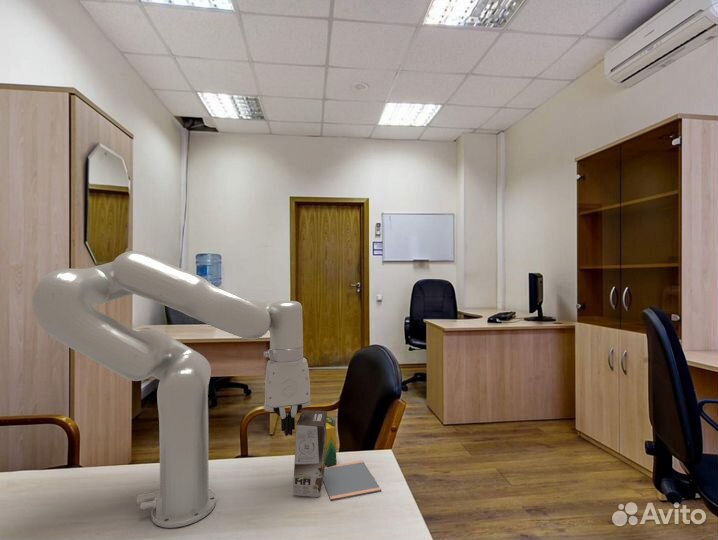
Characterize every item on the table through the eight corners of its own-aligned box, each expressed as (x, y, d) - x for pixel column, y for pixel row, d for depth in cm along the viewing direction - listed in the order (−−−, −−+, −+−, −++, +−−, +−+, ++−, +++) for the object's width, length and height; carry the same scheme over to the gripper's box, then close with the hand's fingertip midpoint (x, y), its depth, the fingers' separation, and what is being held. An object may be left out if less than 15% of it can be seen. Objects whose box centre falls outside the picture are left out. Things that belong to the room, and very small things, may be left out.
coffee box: (320, 497, 84) (323, 426, 84) (292, 495, 84) (295, 424, 84) (325, 474, 93) (327, 410, 93) (299, 472, 93) (302, 408, 93)
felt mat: (330, 501, 83) (330, 499, 83) (318, 469, 96) (318, 467, 96) (381, 491, 87) (381, 489, 87) (362, 462, 100) (362, 460, 100)
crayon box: (314, 457, 102) (313, 414, 103) (323, 455, 104) (323, 412, 105) (326, 467, 96) (326, 421, 97) (336, 464, 98) (336, 419, 98)
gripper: (254, 360, 81) (255, 445, 81) (321, 355, 86) (323, 435, 86) (252, 353, 88) (254, 431, 88) (315, 348, 93) (316, 422, 93)
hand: (288, 432), depth 87 cm, fingers closed
